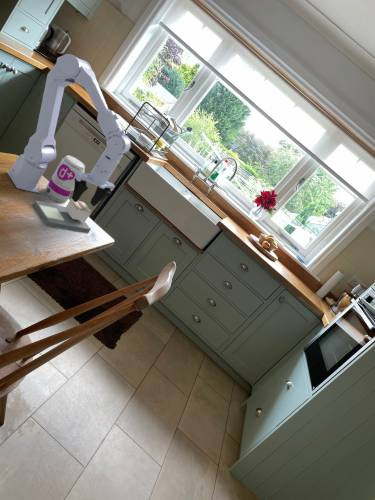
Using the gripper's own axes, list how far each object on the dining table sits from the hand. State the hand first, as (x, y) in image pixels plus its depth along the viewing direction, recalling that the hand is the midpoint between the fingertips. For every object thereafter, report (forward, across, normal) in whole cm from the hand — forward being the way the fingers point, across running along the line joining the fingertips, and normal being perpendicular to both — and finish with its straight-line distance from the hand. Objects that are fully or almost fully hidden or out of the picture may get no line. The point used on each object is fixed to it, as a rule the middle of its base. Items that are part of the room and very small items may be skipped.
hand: (83, 202), depth 125 cm
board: (+8, -4, 0) cm, 9 cm away
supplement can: (+8, 0, +14) cm, 16 cm away
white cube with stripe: (+5, 0, 0) cm, 5 cm away
